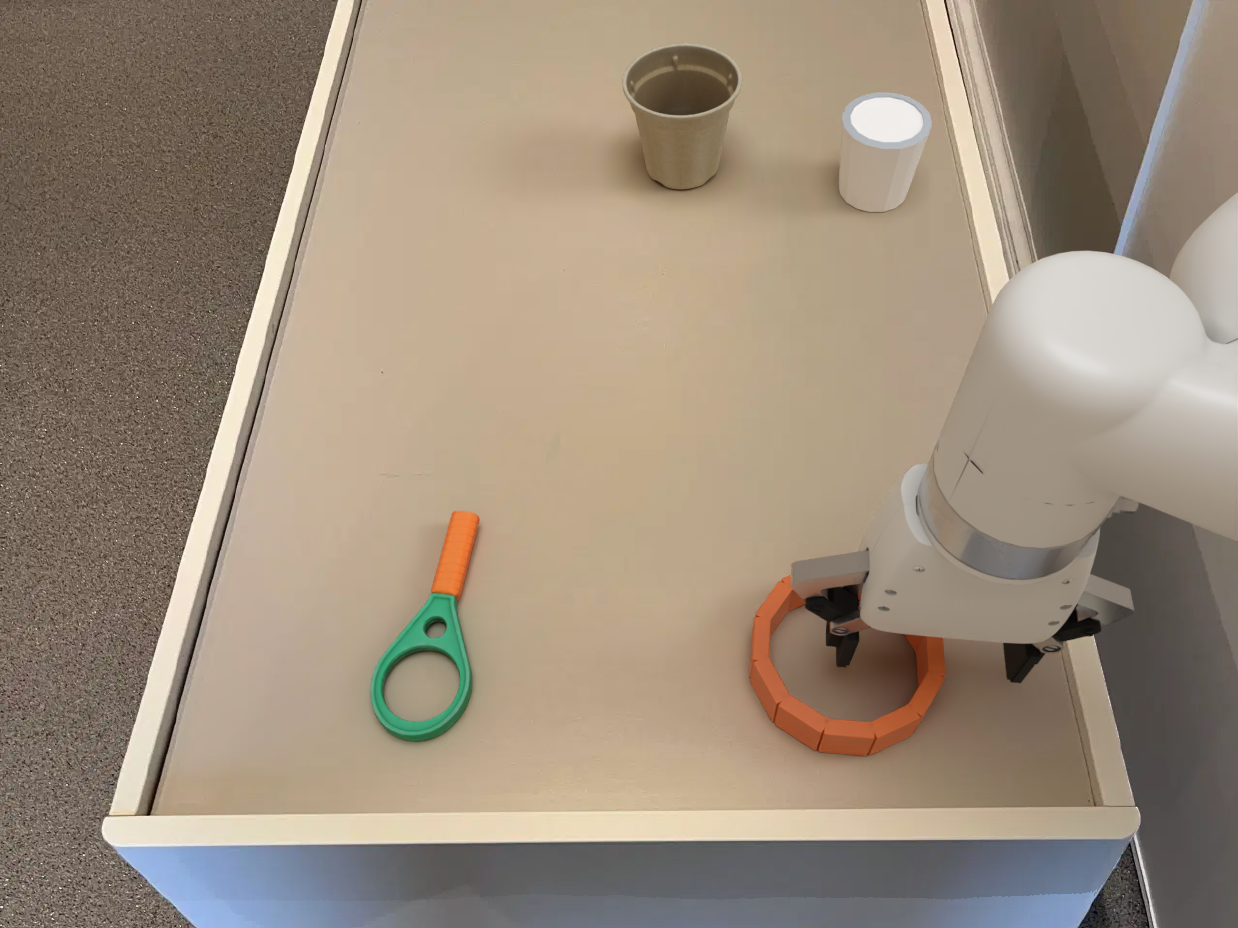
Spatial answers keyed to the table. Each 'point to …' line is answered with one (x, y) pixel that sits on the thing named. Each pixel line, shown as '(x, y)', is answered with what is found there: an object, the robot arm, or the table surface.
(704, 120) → the flower pot
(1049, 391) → the robot arm
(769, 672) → the ring
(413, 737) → the magnifying glass
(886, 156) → the white cylinder
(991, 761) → the table surface
